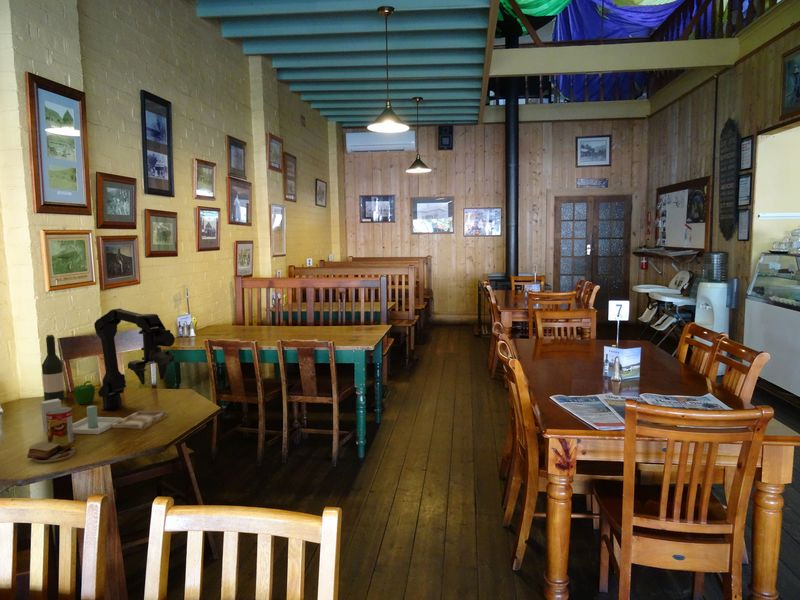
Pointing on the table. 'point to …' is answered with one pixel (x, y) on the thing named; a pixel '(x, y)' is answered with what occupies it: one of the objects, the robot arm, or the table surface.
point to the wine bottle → (52, 373)
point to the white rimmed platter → (103, 425)
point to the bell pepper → (84, 393)
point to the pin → (92, 416)
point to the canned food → (59, 425)
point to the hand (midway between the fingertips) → (152, 381)
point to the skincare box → (47, 406)
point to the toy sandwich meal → (50, 452)
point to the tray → (139, 419)
